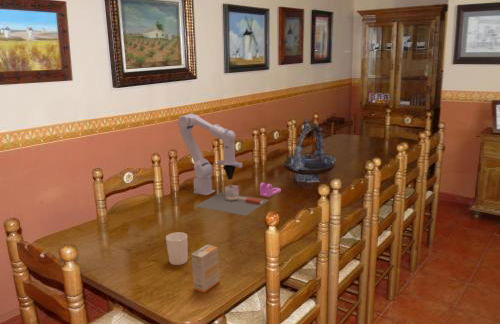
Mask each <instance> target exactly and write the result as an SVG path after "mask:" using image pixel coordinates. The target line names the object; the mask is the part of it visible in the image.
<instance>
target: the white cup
mask: <svg viewBox="0 0 500 324" xmlns="http://www.w3.org/2000/svg"><path fill="white" fill-rule="evenodd" d="M165 241H166V248H167V249H166V250H167V255H168V259H169V261H168V262H169V263H170V264H171V265H173V266H180V265H184V264H186V263H187V262H188V259H189V258H188V254H189V253H188V251H189V250H188V249H189V247H188V245H189V243H188V234H187V233H185V232H180V231H179V232H178V231H176V232H172V233H168V234H167V235H166V236H165Z"/></svg>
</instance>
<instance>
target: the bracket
mask: <svg viewBox="0 0 500 324" xmlns="http://www.w3.org/2000/svg"><path fill="white" fill-rule="evenodd" d="M281 191H282V189H281V188H280V187H273V185H272V184H271V183H265V182H261V183H260V184H259V195H260V196H262V197H267V198H271V197H272V196H274V195H276V194H279V193H282V192H281Z"/></svg>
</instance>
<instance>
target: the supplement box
mask: <svg viewBox="0 0 500 324" xmlns="http://www.w3.org/2000/svg"><path fill="white" fill-rule="evenodd" d="M218 253H219V251H218V246H217V247H216V246H213V245H210V244H206V245H204V246H202V247H201V248H199V249H197V250H195V251H194V252H192V253H190V255H191V265H192V278H193V289H194V290H196V291H198V292H201V293H206V292H207V291H209V290H211V289H212V288H213V287H215V286H216V285H218V284H219V283H220V269H219V268H220V267H219V254H218Z"/></svg>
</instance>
